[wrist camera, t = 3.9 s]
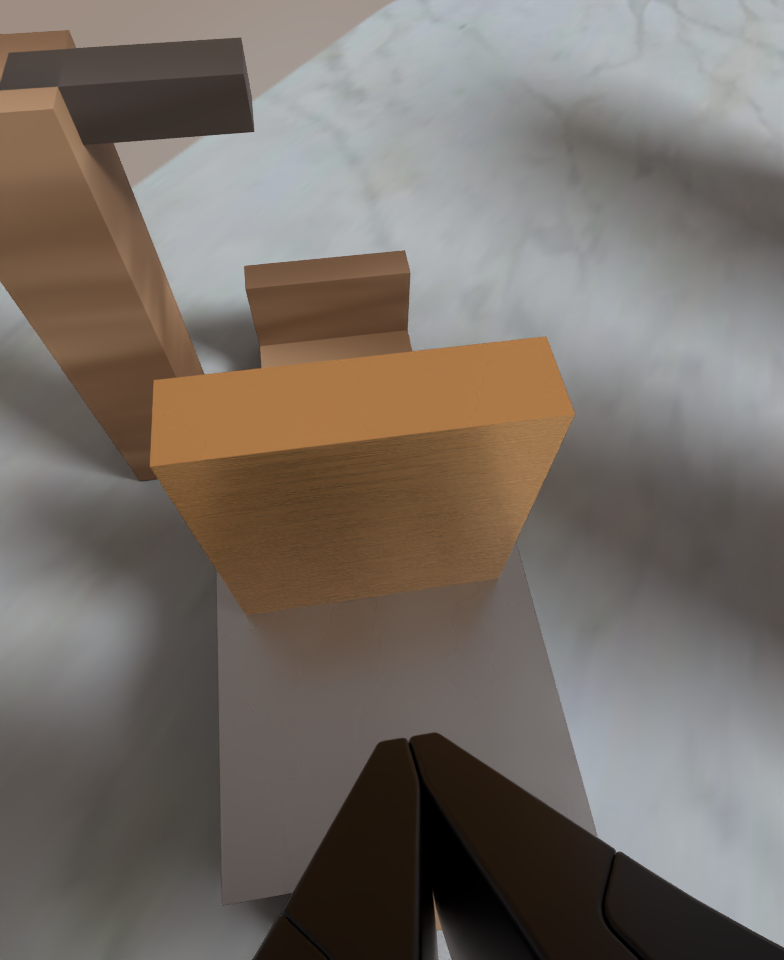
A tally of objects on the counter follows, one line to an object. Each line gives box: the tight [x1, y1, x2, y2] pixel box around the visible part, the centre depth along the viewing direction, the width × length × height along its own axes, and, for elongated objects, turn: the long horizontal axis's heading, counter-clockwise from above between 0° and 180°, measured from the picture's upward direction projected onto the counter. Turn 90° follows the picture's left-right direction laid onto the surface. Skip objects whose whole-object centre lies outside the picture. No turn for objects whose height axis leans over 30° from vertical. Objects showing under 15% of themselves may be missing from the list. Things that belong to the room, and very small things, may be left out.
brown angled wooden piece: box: [0, 30, 442, 930], centre depth 13 cm, size 18×9×12 cm, turn 9°
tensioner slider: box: [150, 337, 597, 906], centre depth 12 cm, size 7×7×10 cm
